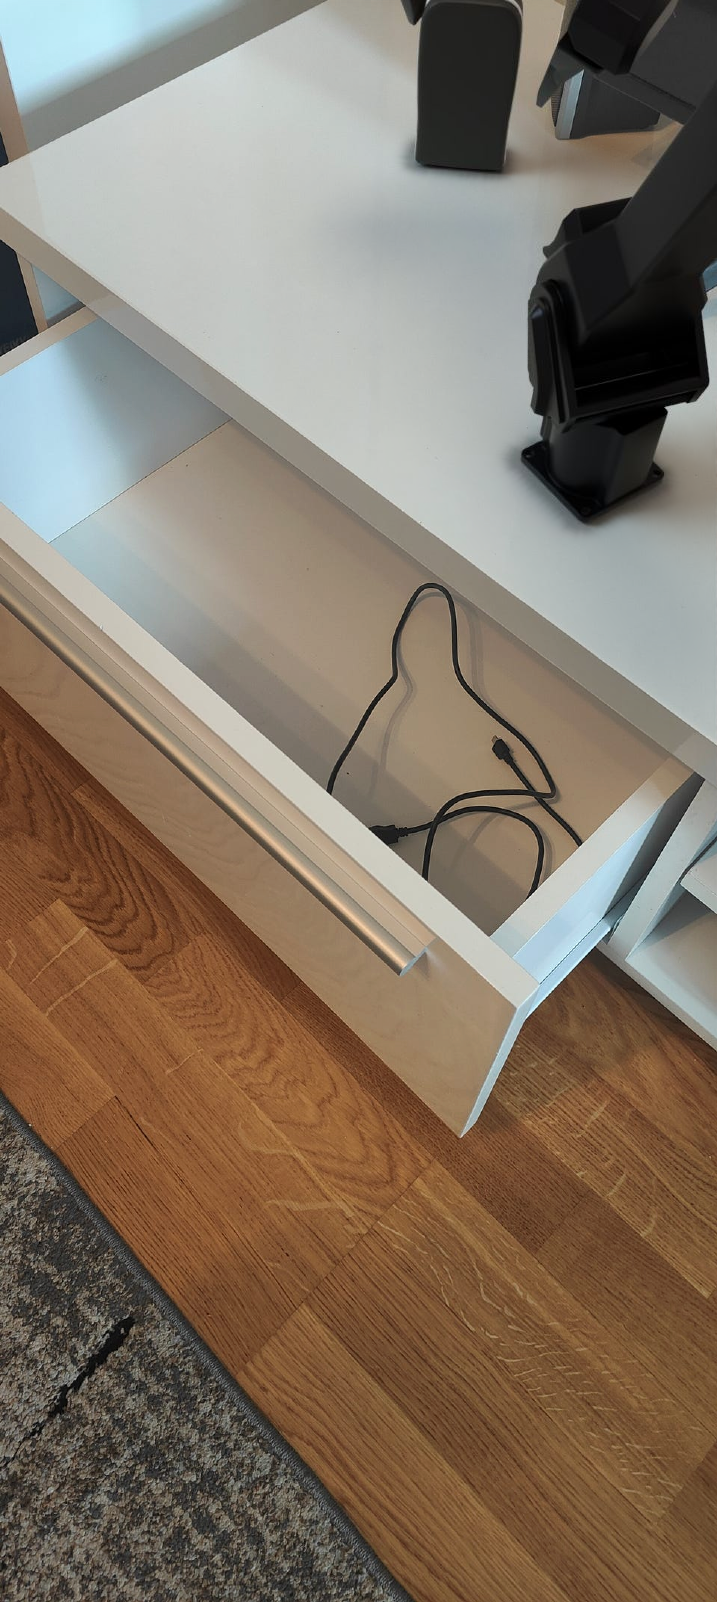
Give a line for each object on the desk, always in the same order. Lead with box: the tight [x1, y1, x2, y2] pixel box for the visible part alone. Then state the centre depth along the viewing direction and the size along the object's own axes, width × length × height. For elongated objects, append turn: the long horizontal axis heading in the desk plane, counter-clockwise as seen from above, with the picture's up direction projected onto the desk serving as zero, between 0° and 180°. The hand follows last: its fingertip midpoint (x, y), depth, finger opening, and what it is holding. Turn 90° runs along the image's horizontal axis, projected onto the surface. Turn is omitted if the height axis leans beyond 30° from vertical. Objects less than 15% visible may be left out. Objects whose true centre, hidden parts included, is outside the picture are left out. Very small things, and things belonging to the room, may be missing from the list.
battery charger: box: [413, 0, 524, 171], centre depth 79 cm, size 7×4×11 cm, turn 82°
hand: (479, 60), depth 69 cm, fingers open, 9 cm apart
